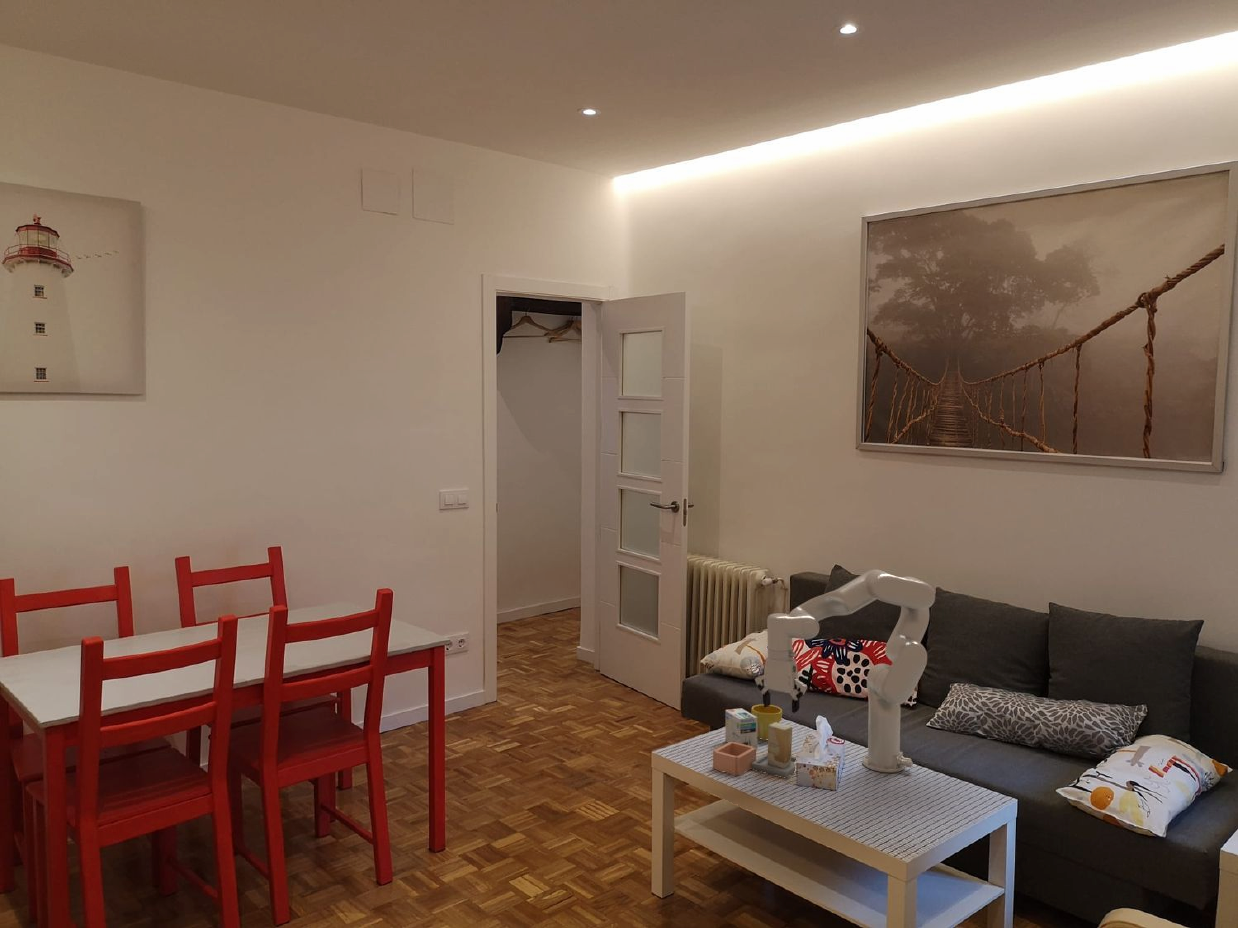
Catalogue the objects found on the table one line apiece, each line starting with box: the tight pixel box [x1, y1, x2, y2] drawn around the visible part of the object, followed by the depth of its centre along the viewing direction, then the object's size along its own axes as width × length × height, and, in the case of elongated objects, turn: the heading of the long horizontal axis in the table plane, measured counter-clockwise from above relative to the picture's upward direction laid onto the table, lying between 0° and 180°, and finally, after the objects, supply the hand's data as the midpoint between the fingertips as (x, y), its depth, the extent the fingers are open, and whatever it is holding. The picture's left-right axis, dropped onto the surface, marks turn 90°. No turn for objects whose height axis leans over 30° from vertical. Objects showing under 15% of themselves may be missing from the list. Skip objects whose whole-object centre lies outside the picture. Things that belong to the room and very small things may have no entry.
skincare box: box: [767, 722, 793, 768], centre depth 273 cm, size 6×4×12 cm
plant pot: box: [750, 703, 783, 739], centre depth 300 cm, size 10×10×10 cm
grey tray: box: [750, 752, 798, 779], centre depth 273 cm, size 12×13×2 cm
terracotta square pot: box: [712, 742, 757, 776], centre depth 273 cm, size 9×11×6 cm
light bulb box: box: [724, 707, 758, 749], centre depth 292 cm, size 11×7×11 cm, turn 22°
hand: (781, 708), depth 272 cm, fingers open, 9 cm apart
